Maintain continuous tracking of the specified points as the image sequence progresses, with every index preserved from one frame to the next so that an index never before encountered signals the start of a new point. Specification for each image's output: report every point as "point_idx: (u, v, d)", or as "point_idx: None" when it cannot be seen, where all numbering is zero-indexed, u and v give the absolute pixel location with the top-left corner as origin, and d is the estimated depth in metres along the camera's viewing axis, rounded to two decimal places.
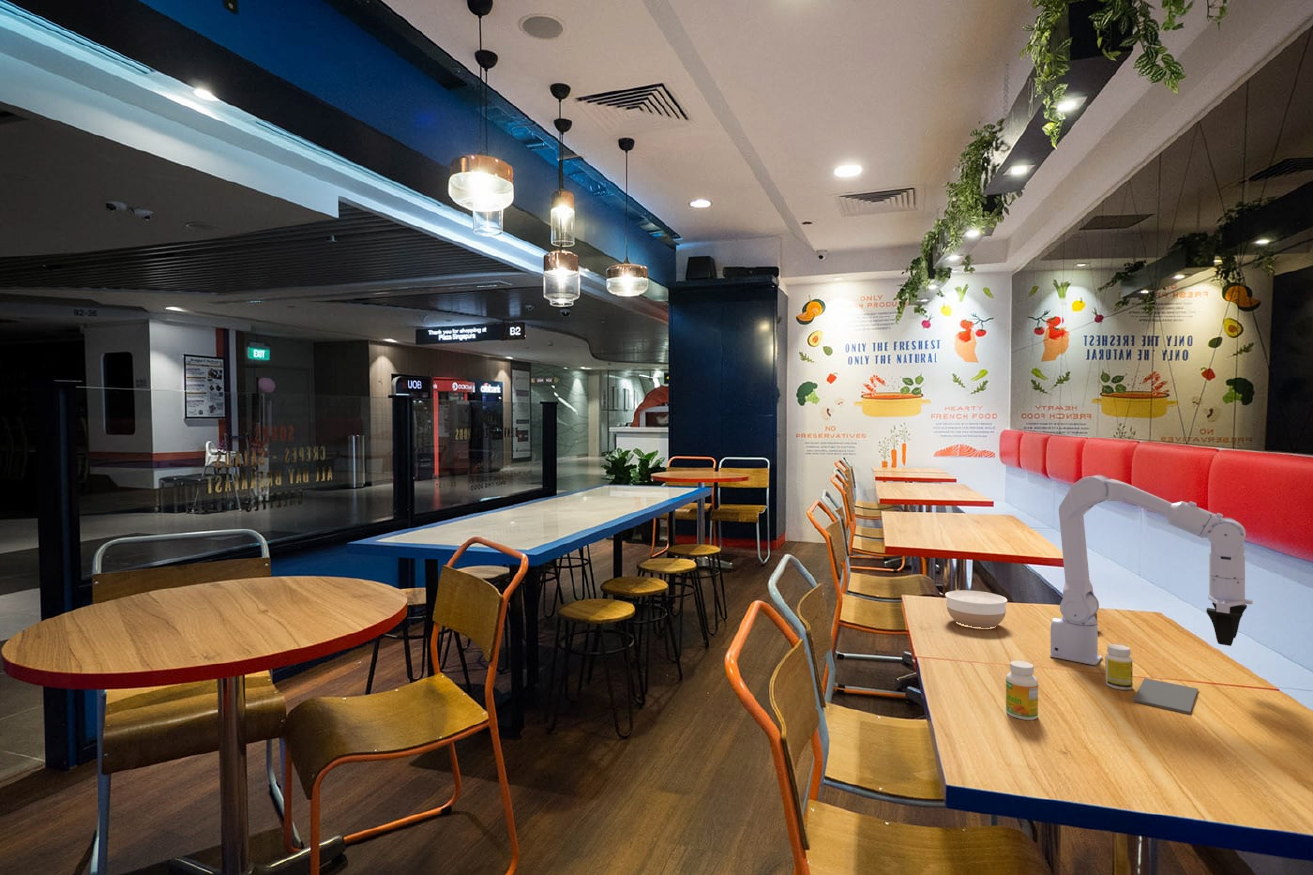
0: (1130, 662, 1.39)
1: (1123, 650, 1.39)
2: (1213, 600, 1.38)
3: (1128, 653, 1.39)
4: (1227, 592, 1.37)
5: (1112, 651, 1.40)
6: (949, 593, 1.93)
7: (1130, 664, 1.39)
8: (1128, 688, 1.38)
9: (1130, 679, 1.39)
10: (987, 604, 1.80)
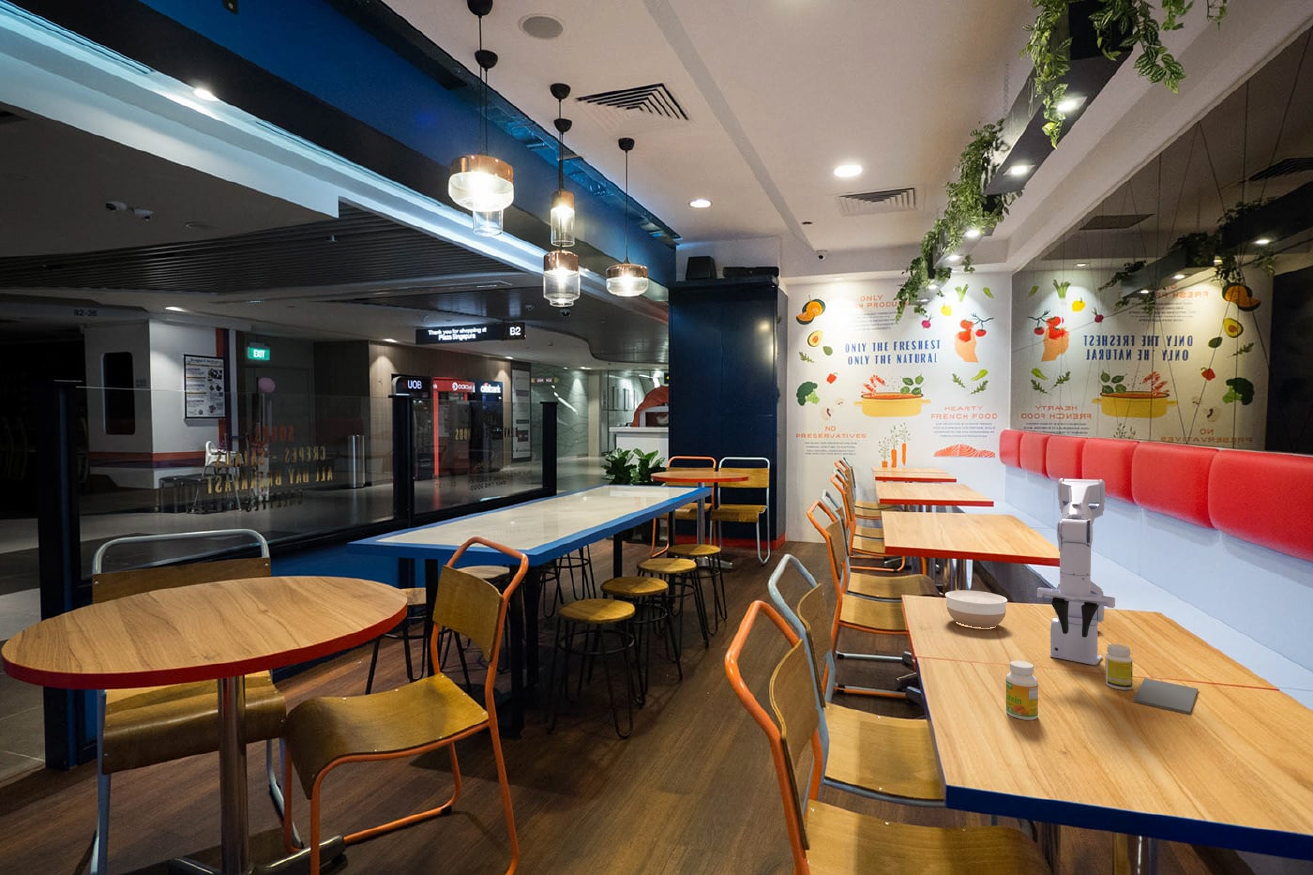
0: (1130, 662, 1.39)
1: (1123, 650, 1.39)
2: None
3: (1128, 653, 1.39)
4: None
5: (1112, 651, 1.40)
6: (949, 593, 1.93)
7: (1130, 664, 1.39)
8: (1128, 688, 1.38)
9: (1130, 679, 1.39)
10: (987, 604, 1.80)
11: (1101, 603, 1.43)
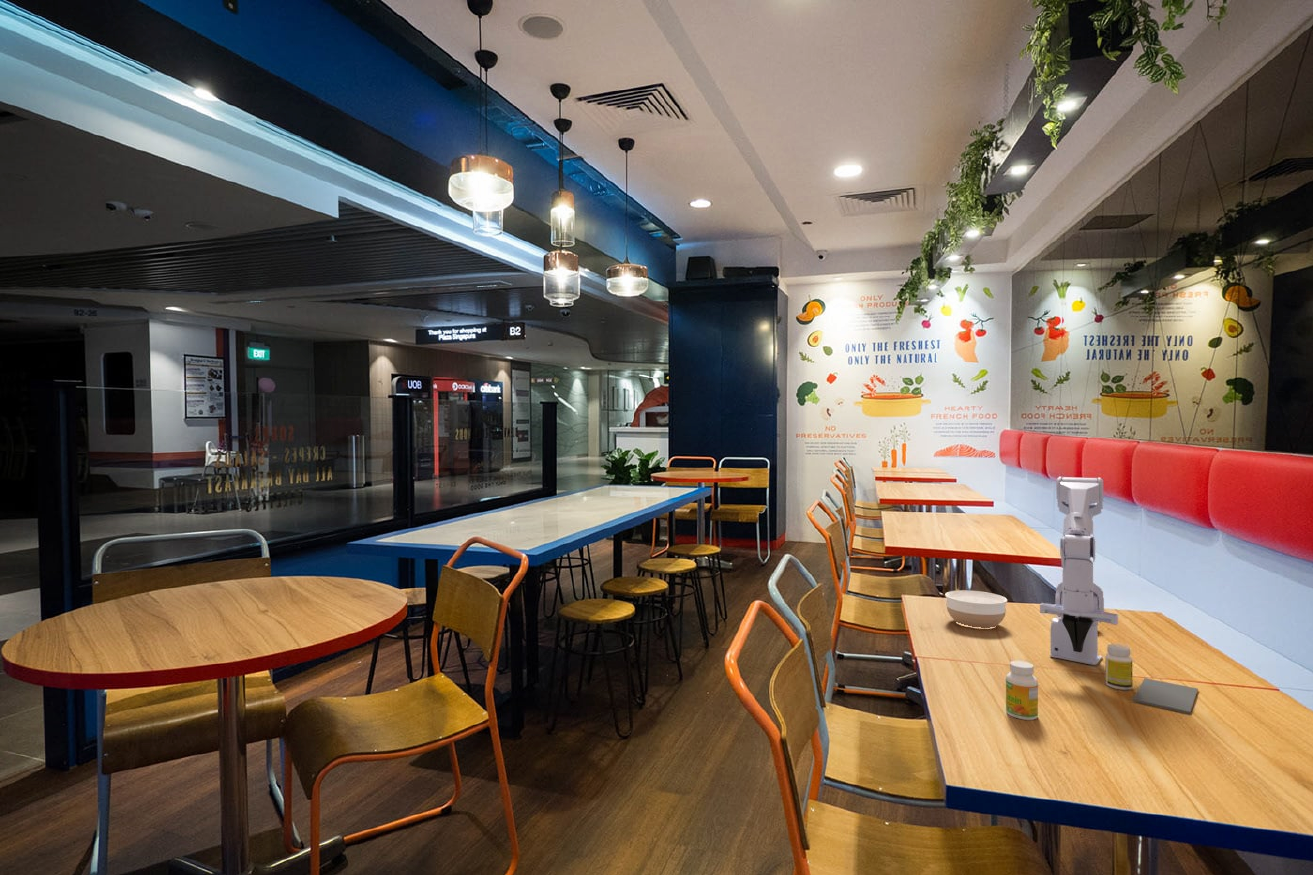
0: (1130, 662, 1.39)
1: (1123, 650, 1.39)
2: None
3: (1128, 653, 1.39)
4: None
5: (1112, 651, 1.40)
6: (949, 593, 1.93)
7: (1130, 664, 1.39)
8: (1128, 688, 1.38)
9: (1130, 679, 1.39)
10: (987, 604, 1.80)
11: (1104, 620, 1.42)
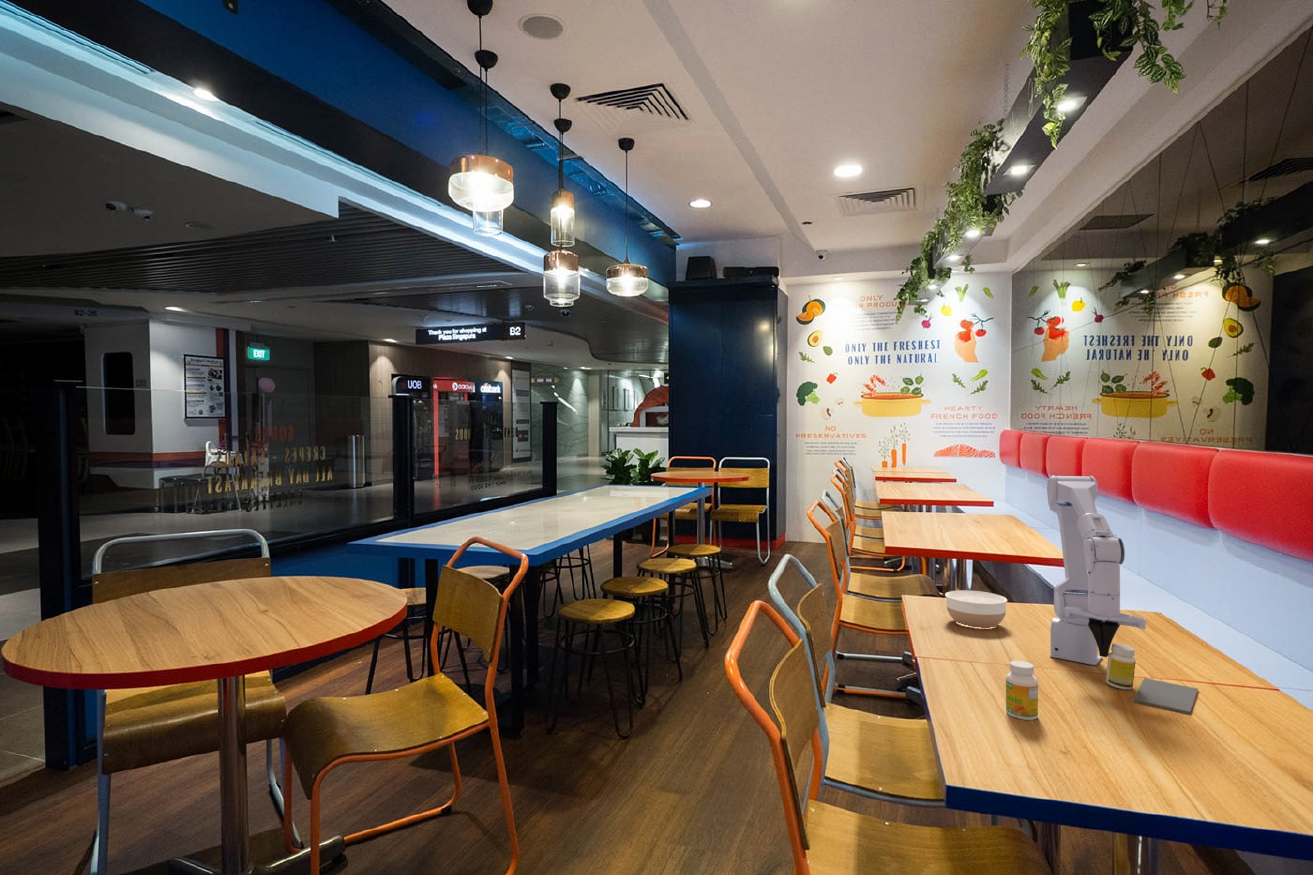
0: (1133, 663, 1.38)
1: (1128, 650, 1.38)
2: None
3: (1132, 654, 1.38)
4: (1088, 604, 1.44)
5: (1116, 650, 1.39)
6: (949, 593, 1.93)
7: (1133, 665, 1.38)
8: (1128, 688, 1.38)
9: (1131, 679, 1.38)
10: (987, 604, 1.80)
11: (1131, 624, 1.39)
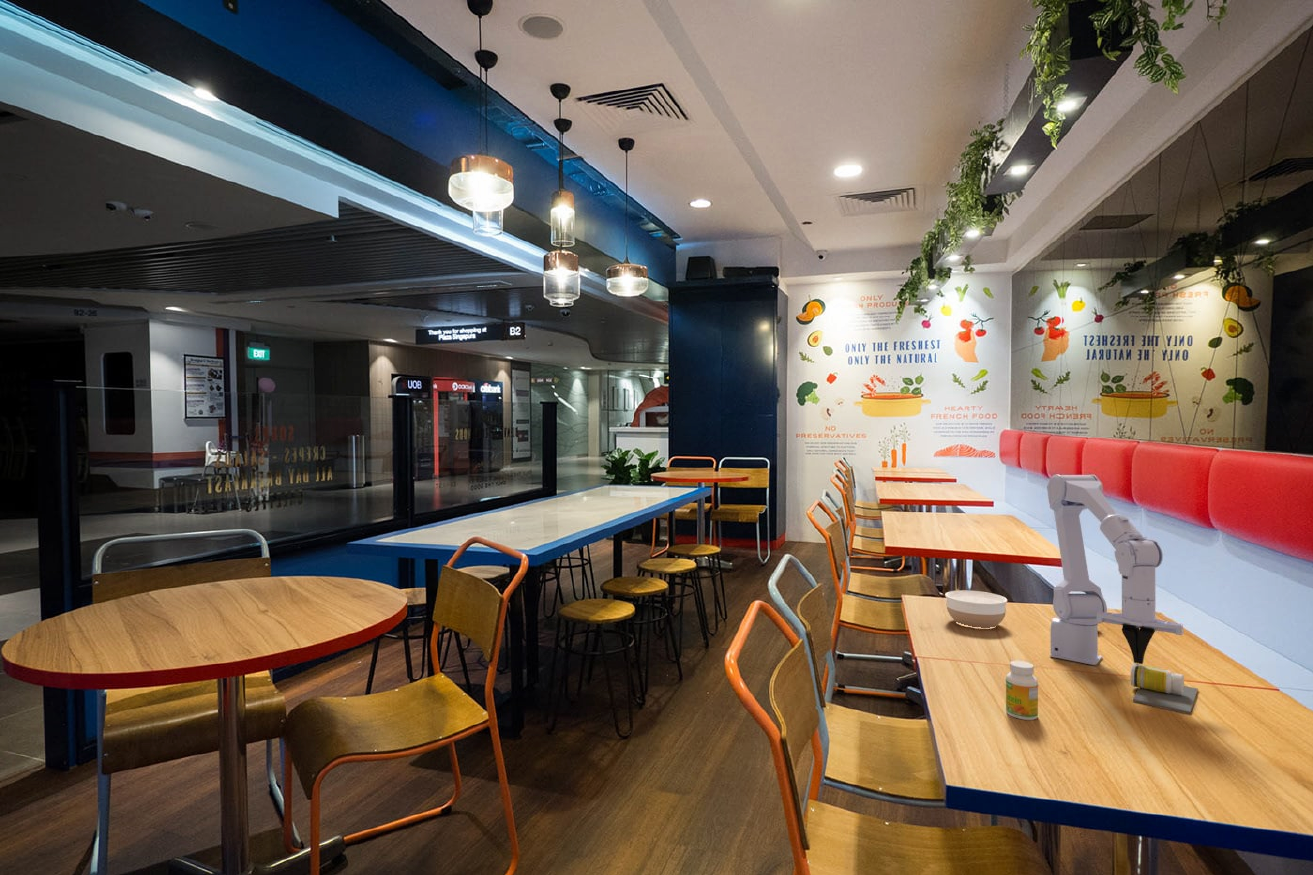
0: (1165, 692, 1.35)
1: (1180, 689, 1.33)
2: None
3: (1176, 692, 1.33)
4: (1122, 609, 1.40)
5: (1177, 679, 1.33)
6: (949, 593, 1.93)
7: (1163, 691, 1.35)
8: (1133, 683, 1.38)
9: (1144, 687, 1.37)
10: (987, 604, 1.80)
11: (1168, 630, 1.35)
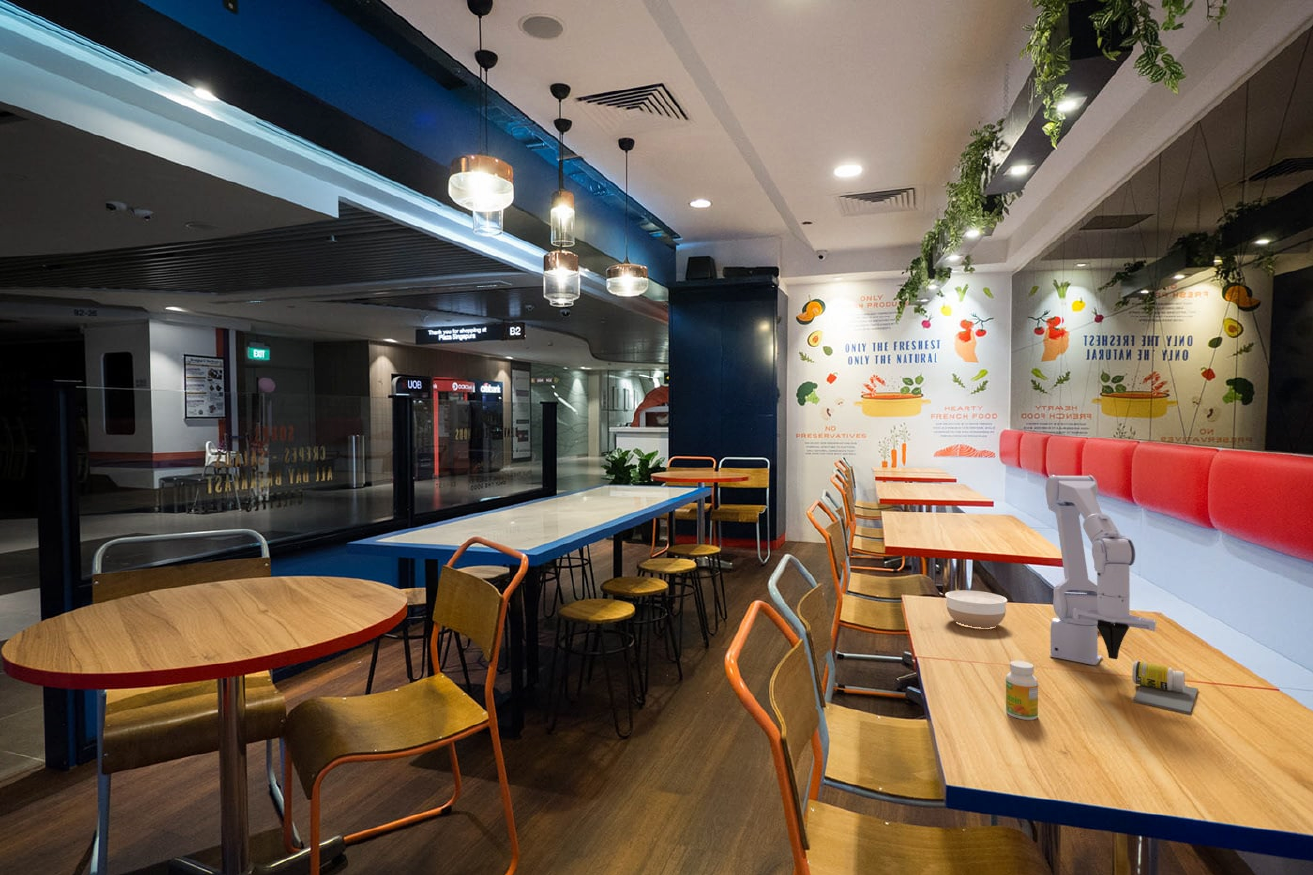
0: (1166, 681, 1.35)
1: (1181, 678, 1.34)
2: None
3: (1177, 683, 1.34)
4: (1097, 605, 1.43)
5: (1180, 671, 1.36)
6: (949, 593, 1.93)
7: (1163, 680, 1.36)
8: (1134, 672, 1.39)
9: (1145, 677, 1.38)
10: (987, 604, 1.80)
11: (1141, 626, 1.38)
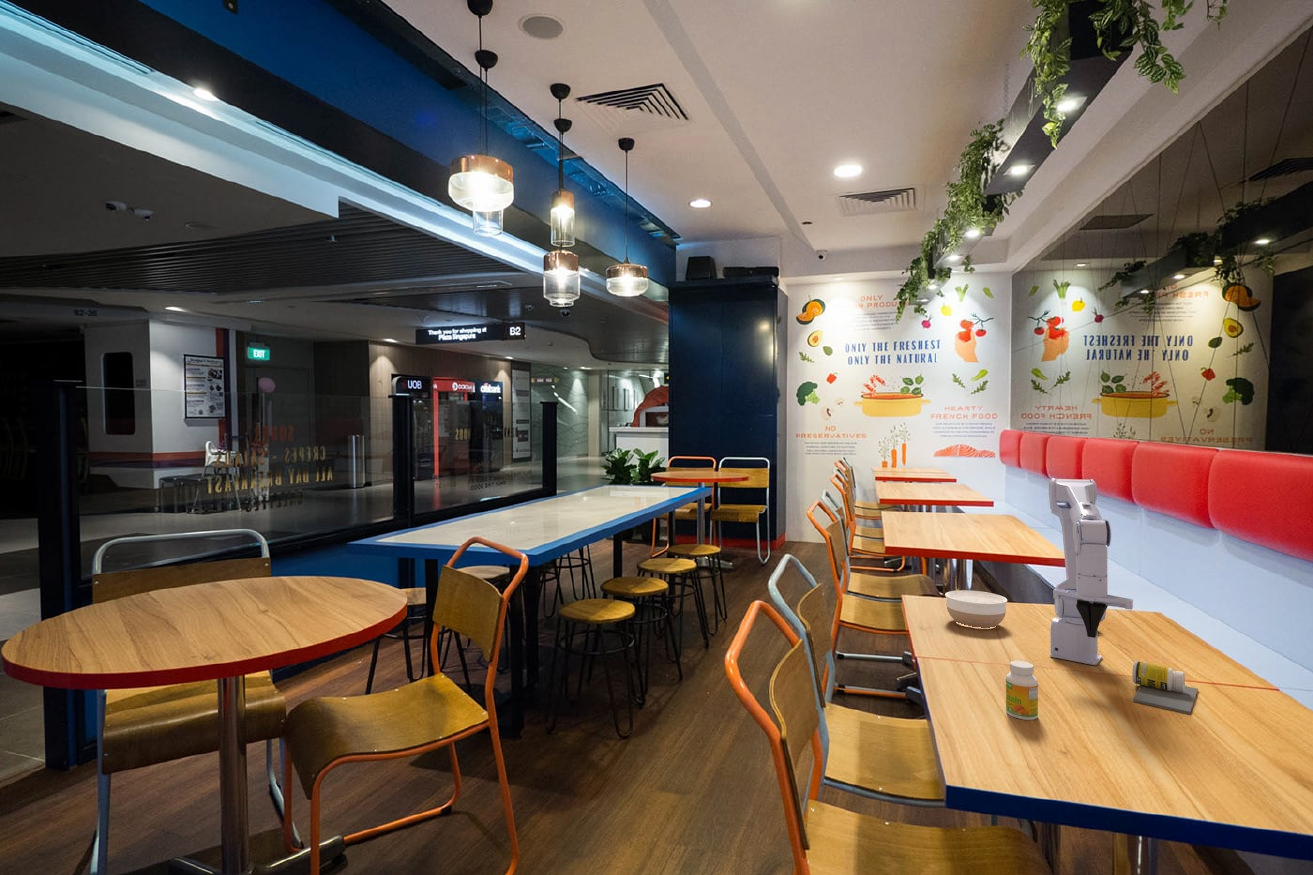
0: (1166, 682, 1.35)
1: (1181, 679, 1.34)
2: None
3: (1177, 683, 1.34)
4: (1076, 585, 1.47)
5: (1179, 671, 1.36)
6: (949, 593, 1.93)
7: (1163, 681, 1.36)
8: (1134, 672, 1.39)
9: (1145, 677, 1.38)
10: (987, 604, 1.80)
11: (1119, 605, 1.41)
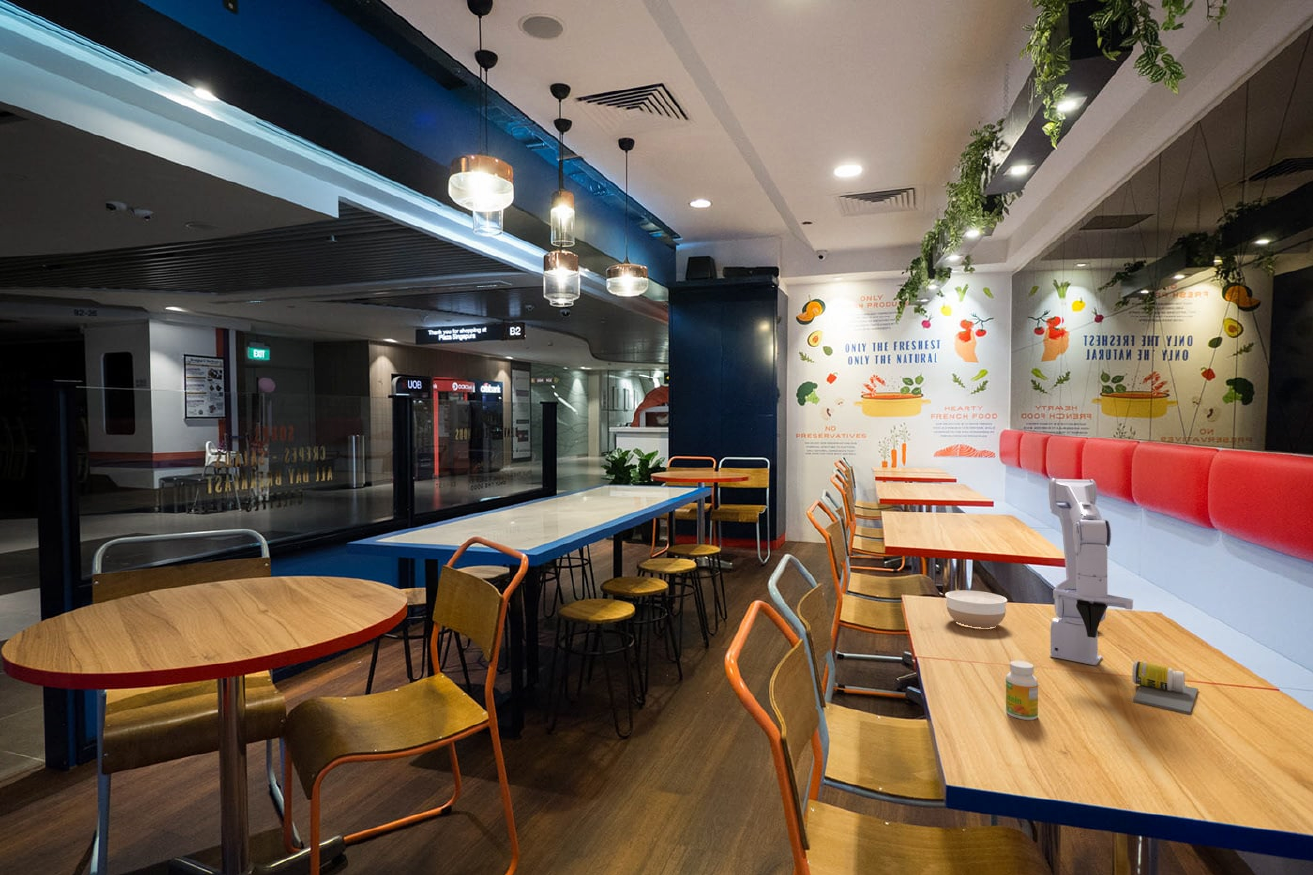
0: (1166, 682, 1.35)
1: (1181, 679, 1.34)
2: None
3: (1177, 683, 1.34)
4: (1076, 585, 1.47)
5: (1179, 671, 1.36)
6: (949, 593, 1.93)
7: (1163, 681, 1.36)
8: (1134, 672, 1.39)
9: (1145, 677, 1.38)
10: (987, 604, 1.80)
11: (1119, 605, 1.41)
